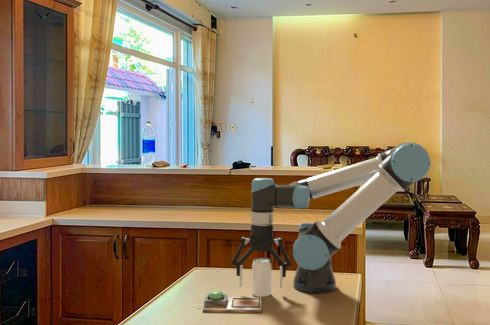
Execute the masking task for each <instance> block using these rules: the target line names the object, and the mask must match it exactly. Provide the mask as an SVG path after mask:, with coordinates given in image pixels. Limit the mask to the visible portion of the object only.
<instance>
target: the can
mask: <svg viewBox="0 0 490 325" xmlns="http://www.w3.org/2000/svg"><path fill="white" fill-rule="evenodd" d="M251 272H252V274H251V276H252V277H251V284H252V285H251V286H252V287H251V292H252V293H251V294H252V295H253V297H262V298H268V297H270V296H271V295H272V263H271V259H270V258H268V257H267V258H266V257H257V258H253V261H252V265H251Z"/></svg>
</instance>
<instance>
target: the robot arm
mask: <svg viewBox="0 0 490 325" xmlns="http://www.w3.org/2000/svg"><path fill="white" fill-rule="evenodd" d="M431 163H432V162H431V157H430V154H429V152H428V151H427V150H426V148H424V147H423V146H422V145H421V144H418V143H416V142H405V143H401V144H397V145H396V146H395V147H393V148H390V149H388V150H385V151H383V152H380V153H378V154H377V156H376V157H373V158H370V159H367V160H362V161H360V162H356V163H353V164H350V165H346V166H343V167H340V168H337V169H334V170H331V171H327V172H324V173H320V174H317V175H314V176H311V177H307V178H304V179H301V180H299V181H297V180H296V181H293V182H290V183H289V184H275V181H274V179H273V178H271V177H269V178H268V177H256V178H254V179H252V181H251V192H250V195H251V199H250V200H251V204H250V205H251V206H250V223H251V225H250V237H249V238H248V237H247V238H246V237H245V236H242V237H241V241H240V244H239V246H238V249H237V250H236V253H235V254H234V256H233V258H232V259H231V261H230V262H231V265H232V266H235V267H236V276H237V277H239V287H242V286H243V264H244V262H245V261H246V260H247V259H248V258H249V256H251V255H252V253H253V252H254V251H255V252H259V253H260V252H264V253H265V252H269V253H270V254H271V255H272V256H273V257H274V259H275V260H276V261H277V262H278V264H279V265H280V266H279V288H283V278H286V276H287V268H288V267H291V266H292V262H291V260H290V256H289V255H288V253H287V251H286V249H285V247H284V245H283V239H282V237H279V238H274V225H273V223H274V208H288V209H289V208H290V209H299V210H300V209H308V208H309V205H310V201H311V200H313V199H316V198H320V197H323V196H328V195H330V194H334V193H337V192H341V191H344V190H348V189H351V188H354V187H355V188H356V187H358V186H361V187H360V188H358V189H357V190H356V191H355V192H354V193H353V194H352V195H351V196H349V197H348V198H347V199H346V200H345V201H344V202H343V203H342V204H340V206H338V207H337V208H336V209H335V210H334V211H333V212H331V214H329V215H328V217H326V218H325V219H324V220H321V221H320V220H316V221H315V222H301V223H300V224H298V229H297V230H298V236H297V238H296V240H295V241H294V243H293V246H292V257H293V259H294V260H295V262H296V264H297V265H298V266H297V268H296V272H295V275H294V278H293V284H292V286H293V288H294V289H296V290H298V291H301V292H305V293H314V294H320V293H321V294H322V293H323V294H324V293H329V292H333V291H336V288H337V282H336V281H337V280H336V277H335V274H334V271H333V268H332V256H333V255H334V254H336V253H337V252H338V251H339V250H340V249H341V248H342V241H343V240H344V239H345V238H346V237H348V235H350V234H351V233H352V232H353V231H354V230H355V229H357V228H358V227H359V226H360V225H361V224H362V223H363V222H365V220H366V219H368V218H369V217H370V216H371V215H372V214H374V213H375V212H376V211H377V210H378V209H379V208H380V207H382V205H384V204H385V203H386V202H387V201H388V200H389V199H390V198H392V196H394V195H395V194H396V193H398V192H405V191H407V190H408V189H409V188H410V187H412V185H414V183H417V182H418V181H420V180H422V179H423V178H425V177H426V176H427V174H428V173H429V171H430V168H431ZM248 243H249V244H250V247H249V249H248V250H247V251H246V252H245V253H244V254H243V255H242V257H240V256H241V255H240V254H242V252H243V249H244V247H245V245H247V244H248ZM274 244H276V245H277V246H278V247H279V250H280V252H281V255H282V256H283V258H284V260H285V262H284V260H283V259H282V258H281V257H280V255H279V254H278V253H277V252H276V250H275V249H274V248H273V245H274ZM239 257H240V259H239ZM238 259H239V260H238Z"/></svg>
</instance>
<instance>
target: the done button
mask: <svg viewBox="0 0 490 325" xmlns="http://www.w3.org/2000/svg"><path fill="white" fill-rule="evenodd" d="M208 294H209V300H223V294H224V292H223V291H221V290H211V291H209V292H208Z"/></svg>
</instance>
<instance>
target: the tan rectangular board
mask: <svg viewBox="0 0 490 325" xmlns="http://www.w3.org/2000/svg"><path fill="white" fill-rule="evenodd" d="M262 299H263V297H256V296H228V294H227V293H226V294H224V293H223V300H209V293H207V294H206V295H205V297H204V299H203V300H204V301H203V302H204V303H203V307H202V313H230V314H231V313H238V314H247V313H248V314H262V313H263V312H262V311H263V309H262V308H263V306H262V305H263V302H262V301H263V300H262Z"/></svg>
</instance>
